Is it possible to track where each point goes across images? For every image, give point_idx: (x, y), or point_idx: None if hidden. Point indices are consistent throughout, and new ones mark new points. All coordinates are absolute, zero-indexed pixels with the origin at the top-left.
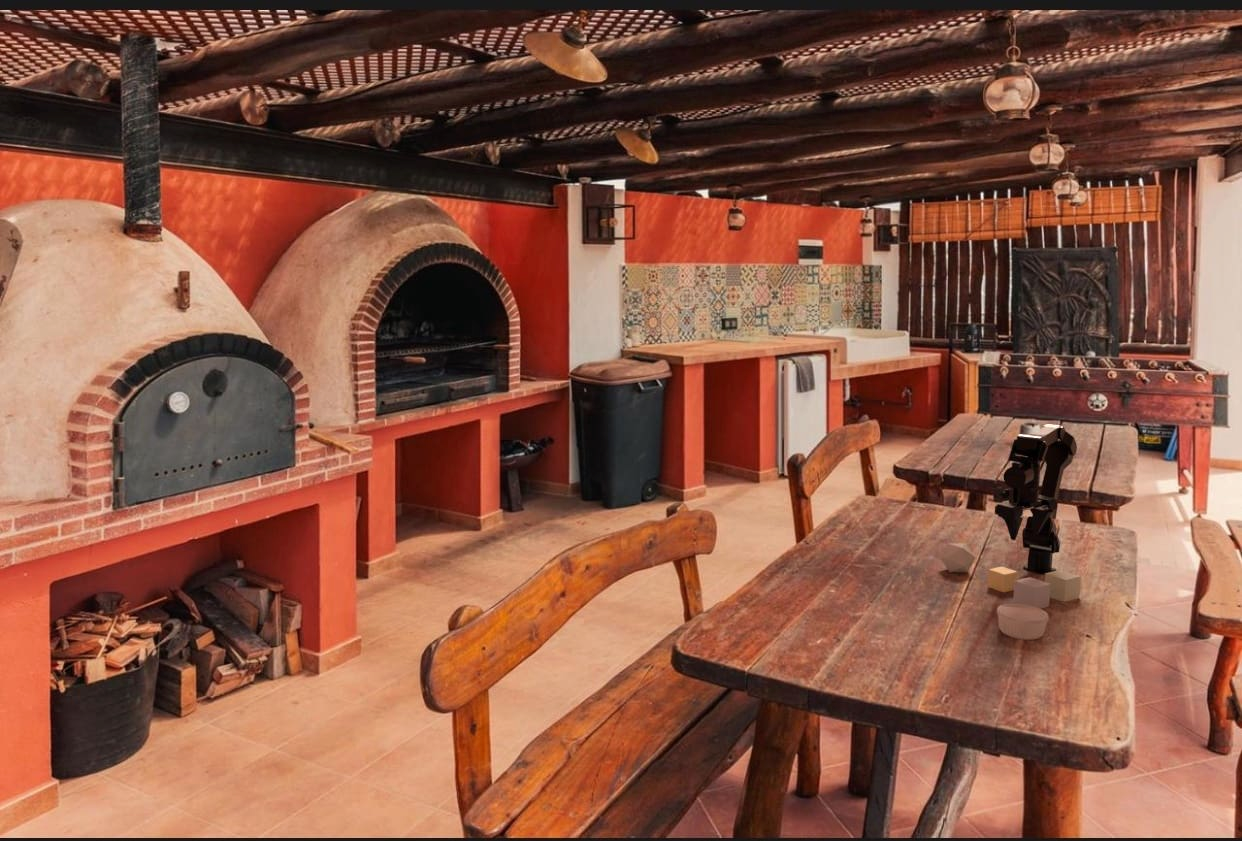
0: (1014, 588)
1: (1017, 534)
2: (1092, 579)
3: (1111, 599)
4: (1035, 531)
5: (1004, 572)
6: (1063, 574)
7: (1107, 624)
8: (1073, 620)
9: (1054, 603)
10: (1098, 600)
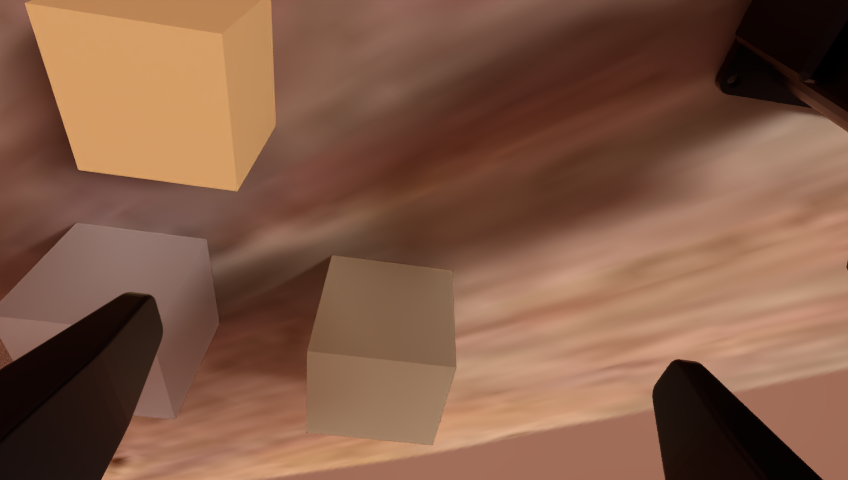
0: (21, 282)
1: (116, 445)
2: (781, 289)
3: (519, 406)
4: (675, 422)
5: (115, 141)
6: (383, 402)
7: (258, 460)
8: (181, 410)
9: (272, 322)
10: (467, 389)
